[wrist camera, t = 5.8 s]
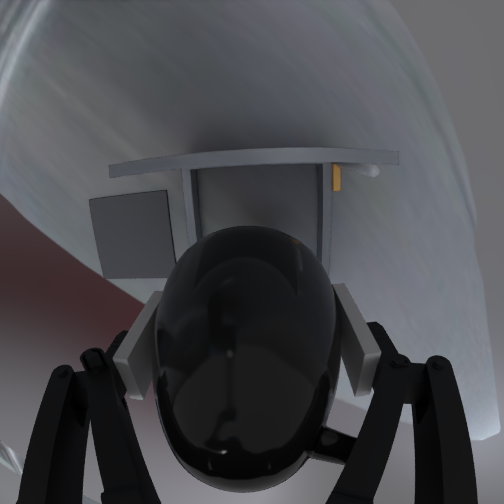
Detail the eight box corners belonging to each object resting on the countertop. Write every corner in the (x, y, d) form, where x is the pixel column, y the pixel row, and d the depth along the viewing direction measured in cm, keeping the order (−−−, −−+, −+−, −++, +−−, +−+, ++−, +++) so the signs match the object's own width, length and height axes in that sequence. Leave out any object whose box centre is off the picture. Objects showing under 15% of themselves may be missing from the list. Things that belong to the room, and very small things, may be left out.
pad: (90, 199, 36) (88, 200, 36) (166, 190, 36) (165, 190, 35) (105, 277, 40) (104, 278, 40) (178, 276, 40) (177, 277, 39)
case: (186, 154, 34) (108, 165, 15) (335, 148, 33) (417, 153, 14) (200, 285, 40) (160, 391, 21) (332, 280, 39) (380, 383, 21)
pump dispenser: (304, 344, 23) (334, 520, 9) (178, 325, 23) (115, 496, 8) (339, 226, 19) (470, 388, 5) (188, 200, 19) (39, 337, 5)
